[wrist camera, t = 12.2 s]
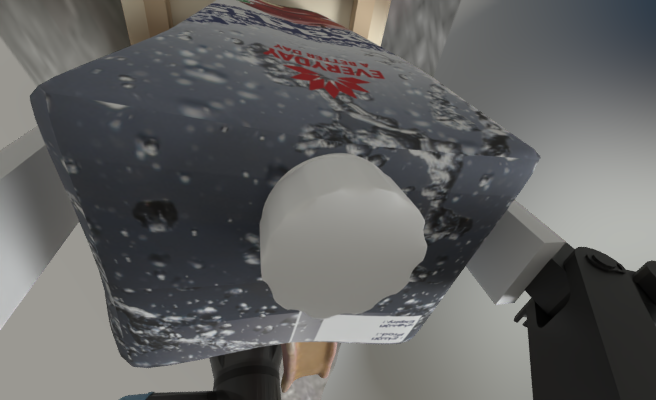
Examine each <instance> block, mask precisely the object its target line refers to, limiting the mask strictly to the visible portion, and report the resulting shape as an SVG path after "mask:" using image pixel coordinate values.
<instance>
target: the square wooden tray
mask: <svg viewBox="0 0 656 400" xmlns="http://www.w3.org/2000/svg"><path fill="white" fill-rule="evenodd" d="M214 1H216V0H121V3H122V7H123V12H124V17H125V21H126V26H127V30H128V35H129V39H130V44H131V45H134V44H136V43H139V42H141V41H144V40H146V39H149V38H151V37H153V36H156V35H158V34H160V33H162V32H165V31H167V30H169V29H171V28H173V27H174V26H176V25H178V24H179V23H181V22H182V21H184V20H186V19H187V18H189V17H190V16H192V15H193V14H195V13H197V12H198V11H200V10H202V9H203V8H205V7H206V6H208V5H210V4H211V3H213V2H214ZM265 1H268V2H271V3H274V4H277V5H281V6H287V7H293V8H300V9H305V10H309V11H313V12H316V13H319V14H321V15H323V16H325V17H327V18H329V19H331V20H333V21H334V22H336V23H338V24H340V25H342V26H344V27H345V28H347V29H349V30H351V31H353V32H355V33H357V34H358V35H360V36H362V37H364V38H366V39H368V40H369V41H371V42H373V43H375V44H377V45H379V46H381V42H382V37H383V33H384V29H385V24H386V20H387V16H388V12H389V7H390V3H391V0H265Z"/></svg>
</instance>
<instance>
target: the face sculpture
mask: <svg viewBox="0 0 656 400" xmlns="http://www.w3.org/2000/svg"><path fill="white" fill-rule="evenodd" d="M336 347H337V342H290V343H283V344H281V348H282V355H283V365H284V374H283V377H282V382H281V388H282V392H283V393H285V392H286V391H287V390H288V389H289V388H290V386H291V384H292V383H293V381H294V380H296V379H298V378H300V377H303V376H308V375H314V374H318V375H319V376H320V377H321V378H326V377H327V376H328V374H329V371H330V368H331V364H332V362H333V359H334V356H335V353H336Z"/></svg>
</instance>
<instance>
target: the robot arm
mask: <svg viewBox="0 0 656 400" xmlns="http://www.w3.org/2000/svg"><path fill="white" fill-rule="evenodd" d="M78 222H79V219H78V217H77V215H76V212H75V210H74V208H73V206H72V203H71V201H70V199H69V197H68V195H67V192H66V190H65V188H64V186H63V184H62V181H61V179H60V177H59V175H58V173H57V170H56V168H55V166H54V164H53V161H52V159H51V157H50V155H49V152H48V150H47V148H46V145H45V143H44V140H43V138H42V135H41V132H40V130H39V127H38V126H36V127H35V128H33V129H32V130H30V131H29V132H27V133H26V134H24V135H23V136H21V137H20V138H18V139H17V140H15V141H14V142H12V143H11V144H9V145H8V146H6V147H5V148H3V149H2V150H0V330H1V328H2V327H3V326H4V324H5V323H6V321H7V320H8V319H9V317H10V316H11V315H12V313H13V312H14V310H15V309H16V308H17V306H18V305H19V304H20V302H21V301H22V299H23V298H24V297H25V295H26V294H27V293H28V291H29V290H30V288H31V287H32V286H33V284H34V283H35V281H36V280H37V279H38V277H39V276H40V275H41V273H42V272H43V270H44V269H45V268H46V266H47V265H48V264H49V262H50V261H51V259H52V258H53V257H54V255H55V254H56V252H57V251H58V250H59V248H60V247H61V246H62V244H63V243H64V241H65V240H66V239H67V237H68V236H69V235H70V233H71V232H72V231H73V229H74V228H75V226H76V225H77V223H78ZM466 267H467V268H468V269H469V271H470V272H471V273H472V275H473V276H474V277H475V279H476V280H477V281H478V282H479V284H480V285H481V286H482V288H483V289H484V290H485V292H486V293H487V294H488V296H489V297H490V298H491V300H492V301H493V302H494V304H495V305H498V304H507V303H515V301H516V300H517V299H518V298H519V296H520V295H521V294H522V293H523V292H524V291H526V292H527V293H528V294H529V295H530V296H531V297H532V298H531V299H530V300H529V301H528V303H527V304H526V305H525V306H524V307H523V308H522V309H521V310H520V311H519V313H518V314H517V315H516V316H515V318H514V321H515V322H518V321H519V320H520V319H521V318H522V317H527V320H526V321H525V322H524V323H523V326H525V327H527V328H528V339H529V352H530V362H531V363H530V365H531V376H532V388H533V400H656V261H649V262H647V263H645V264H644V265H643V266H642V267H641V268H640V269H639V270H638V271H636V272H634V271H629V270H625V268H624V267H623V266H622V265H621V264H619V263H618V262H617V261H615V260H614V259H612V258H611V257H609V256H607V255H606V254H603V253H601V252H599V251H597V250H594V249H590V248H587V247H578V248H576V249H574V248H572V247H571V246H570V245H569V244H568V243H566V241H565V240H563V239H562V238H561V237H560V236H558V235H557V234H556V233H555V232H553V231H552V230H551V229H550V228H549V227H547V226H546V225H545V224H544V223H542V222H541V221H540V220H539V219H538V218H537V217H535V216H534V215H533V214H532V213H530V212H529V211H528V210H527V209H526V208H524V207H523V206H522V205H521V204H519V203H518V202H517V201H516V200H514V201H513V202H512V204H511V205H510V206H509V208H508V209H507V211H506V212H505V213H504V215H503V216H502V217H501V219H500V220H499V222H498V223H497V224H496V226H495V227H494V228H493V230H492V231H491V232H490V234H489V235H488V236H487V238H486V239H485V240H484V242H483V243H482V244H481V246H480V247H479V248H478V250H477V251H476V253H475V254H474V255H473V257H472V258H471V259H470V261H469V262H468V263H467V265H466ZM281 359H282V348H281V344H276V345H270V346H263V347H257V348H252V349H248V350H243V351H238V352H233V353H229V354H224V355H219V356H214V357H210V363H211V367H212V372H213V376H214V387H213V391H203V392H202V391H200V392H169V393H154V392H149V393H148V394H138V395H128V396H125V397H122V398H121V399H119V400H281V391H280V378H279V368H280V364H281Z"/></svg>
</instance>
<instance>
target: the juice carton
mask: <svg viewBox="0 0 656 400" xmlns="http://www.w3.org/2000/svg"><path fill="white" fill-rule="evenodd" d="M30 101H31V105H32V108H33V112H34V116H35V119H36V121H37V124H38V127H39V130H40V132H41V135H42V138H43V140H44V143H45V145H46V148H47V150H48V152H49V155H50V157H51V159H52V161H53V164H54V166H55V168H56V170H57V173H58V175H59V177H60V179H61V181H62V184H63V186H64V188H65V190H66V192H67V195H68V197H69V199H70V201H71V203H72V206H73V208H74V210H75V212H76V215H77V217H78V219H79V222H80V224H81V226H82V229H83V231H84V233H85V236H86V238H87V240H88V243H89V245H90V248H91V251H92V253H93V256H94V259H95V261H96V264H97V266H98V269H99V272H100V276H101V279H102V283H103V286H104V290H105V297H106V304H107V310H108V316H109V322H110V326H111V330H112V333H113V336H114V338H115V341H116V344H117V347H118V350H119V352H120V355H121V356H122V357H123V358H124V359H125V360H126V361H127V362H128V363H129V364H130V365H132V366H133V367H144V368H151V367H159V366H168V365H173V364H179V363H184V362H190V361H195V360H200V359H205V358H210V357H214V356H219V355H224V354H229V353H233V352H238V351H243V350H248V349H252V348H257V347H263V346H270V345H276V344H283V343H290V342H338V343H360V344H398V343H403V342H406V341H408V340H410V339H411V338H413V337H414V336H415V334H416V333H417V332H418V331H419V329H420V328H421V327H422V325H423V324H424V323H425V321H426V320H427V319H428V317H429V316H430V314H431V313H432V312H433V310H434V309H435V308H436V306H437V305H438V303H439V302H440V300H441V299H442V298H443V296H444V295H445V294H446V292H447V291H448V289H449V288H450V287H451V285H452V284H453V282H454V281H455V279H456V278H457V277H458V276H459V274H460V273H461V271H462V270H463V269H464V267H465V266H466V265H467V263H468V262H469V261H470V259H471V258H472V257H473V255H474V254H475V253H476V251H477V250H478V248H479V247H480V246H481V244H482V243H483V242H484V240H485V239H486V238H487V236H488V235H489V234H490V232H491V231H492V230H493V228H494V227H495V226H496V224H497V223H498V222H499V220H500V219H501V217H502V216H503V215H504V213H505V212H506V211H507V209H508V208H509V206H510V205H511V204H512V202H513V201H514V200H515V198H516V197H517V195H518V194H519V193H520V191H521V190H522V188H523V187H524V185H525V184H526V182H527V181H528V179H529V178H530V176H531V175H532V173H533V171H534V169H535V167H536V165H537V163H538V161H539V159H540V156H539V155H538V153H537V152H536V151H535V150H534V149H533V148H532V147H530V146H529V145H527V144H526V143H524V142H523V141H522V140H520V139H519V138H517V137H516V136H514V135H513V134H511V133H510V132H509V131H507V130H506V129H504V128H503V127H501V126H500V125H499V124H497V123H496V122H494V121H493V120H491V119H490V118H489V117H487V116H486V115H484V114H483V113H482V112H480V111H479V110H477V109H476V108H474V107H473V106H472V105H470V104H469V103H467V102H466V101H465V100H463V99H462V98H460V97H459V96H458V95H456V94H455V93H454V92H452V91H451V90H449V89H448V88H446V87H445V86H444V85H442V84H441V83H440V82H438V81H437V80H436V79H434V78H433V77H431V76H430V75H428V74H427V73H425V72H424V71H422V70H421V69H419V68H417V67H416V66H414V65H412V64H411V63H409V62H407V61H406V60H404V59H402V58H400V57H398V56H397V55H395V54H393V53H391V52H389V51H388V50H386V49H384V48H382V47H380V46H379V45H377V44H375V43H373V42H371V41H369V40H368V39H366V38H364V37H362V36H360V35H358V34H357V33H355V32H353V31H351V30H349V29H347V28H345V27H344V26H342V25H340V24H338V23H336V22H334V21H333V20H331V19H329V18H327V17H325V16H323V15H321V14H319V13H316V12H313V11H309V10H305V9H300V8H293V7H287V6H281V5H277V4H274V3H271V2H268V1H265V0H216V1H214V2H213V3H211V4H210V5H208V6H206V7H205V8H203V9H202V10H200V11H198V12H197V13H195V14H193V15H192V16H190V17H189V18H187V19H186V20H184V21H182V22H181V23H179V24H178V25H176V26H174V27H173V28H171V29H169V30H167V31H165V32H162V33H160V34H158V35H156V36H153V37H151V38H149V39H146V40H144V41H141V42H139V43H136V44H134V45H131V46H129V47H126V48H124V49H121V50H119V51H116V52H114V53H111V54H109V55H106V56H104V57H101V58H99V59H96V60H94V61H91V62H89V63H86V64H84V65H81V66H79V67H76V68H74V69H72V70H69V71H67V72H65V73H62V74H60V75H58V76H55V77H53V78H51V79H50V80H48V81H46V82H44V83H42V84H40V85H39V86H37V88H36V89H35V90H34V91H33V93H32V94H31V95H30Z"/></svg>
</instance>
